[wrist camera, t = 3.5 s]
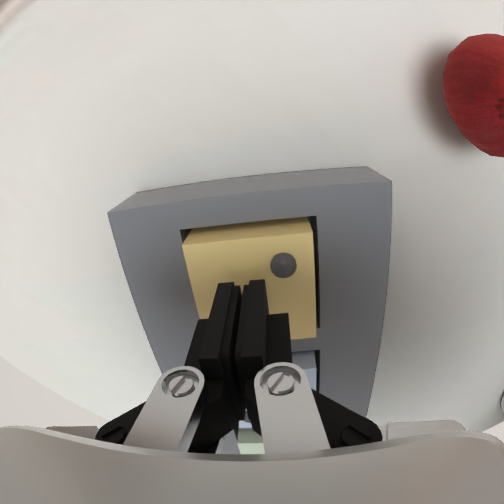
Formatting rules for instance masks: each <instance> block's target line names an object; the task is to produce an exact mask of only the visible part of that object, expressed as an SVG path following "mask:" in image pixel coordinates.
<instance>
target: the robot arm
mask: <svg viewBox="0 0 504 504" xmlns="http://www.w3.org/2000/svg"><path fill="white" fill-rule="evenodd" d="M501 409H502V411H503V413H504V395H503V398H502V401H501ZM246 410H247V414H248V418H249V420H250V421H251V425H252V429H253V430H254V431H255V432H256V433H257V434H259V435H260V436H261V437H262V438H263V445H264V451H265V454H222V451H223V448H224V445H225V435H227V434H228V433H229V432H231V431H232V430H238V429H239V421H244V420H245V412H246ZM0 504H504V444H503V442H502V441H500V440H499V439H498V438H496V437H494V436H492V435H489V434H486V433H481V432H474V431H466V429H465V428H464V427H463V426H462V425H461V424H460V423H458V422H456V421H453V420H440V421H424V422H395V423H388V425H387V426H377V425H376V424H375V423H373V422H372V421H371V420H369V419H367V418H365V417H363V416H361V415H359V414H357V413H355V412H354V411H352V410H350V409H348V408H346V407H344V406H342V405H341V404H339V403H337V402H335V401H333V400H331V399H330V398H328V397H326V396H324V395H322V394H321V393H319V392H317V391H315V390H314V389H312V388H311V387H310V384H309V381H308V378H307V375H306V374H305V372H304V370H303V369H302V368H300V367H299V366H297V365H295V364H292V350H291V338H290V326H289V314H288V313H279V314H269V308H268V300H267V292H266V284H265V279H260V280H250V281H249V284H248V285H244V287H243V295H242V294H241V288H240V285H236V286H235V284H234V282H225V283H218V285H217V289H216V293H215V296H214V300H213V304H212V308H211V311H210V315H209V318H208V319H199V320H198V322H197V325H196V328H195V331H194V334H193V338H192V341H191V344H190V347H189V351H188V354H187V357H186V361H185V364H184V366H180V367H175V368H173V369H170V370H168V371H167V372H165V373H164V374H163V375H162V376H161V377H160V378H159V380H158V381H157V383H156V385H155V387H154V389H153V390H152V392H151V394H150V396H149V398H148V400H147V401H146V402H144V403H142V404H140V405H139V406H137V407H135V408H133V409H132V410H130V411H128V412H126V413H124V414H123V415H121V416H119V417H117V418H115V419H113V420H112V421H110V422H108V423H106V424H105V425H103V426H102V427H101V428H100V429H98V428H97V426H82V427H81V426H79V427H78V426H77V427H54V426H53V427H47V428H46V429H44V428H38V427H31V426H8V427H2V428H0Z"/></svg>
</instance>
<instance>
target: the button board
mask: <svg viewBox="0 0 504 504" xmlns="http://www.w3.org/2000/svg"><path fill="white" fill-rule="evenodd" d="M107 214H108V218H109V222H110V225H111V229H112V233H113V236H114V240H115V243H116V247H117V250H118V254H119V257H120V260H121V263H122V267H123V270H124V273H125V276H126V279H127V282H128V285H129V288H130V291H131V294H132V297H133V300H134V303H135V306H136V309H137V311H138V314H139V317H140V320H141V322H142V325H143V328H144V330H145V333H146V336H147V338H148V341H149V343H150V346H151V348H152V351H153V353H154V356H155V358H156V360H157V363H158V365H159V368H160V370H161V372H162V375H163V374H164V373H165V372H167V371H168V370H170V369H173V368H175V367H180V366H184V364H185V361H186V357H187V354H188V351H189V347H190V344H191V341H192V338H193V334H194V331H195V328H196V325H197V322H198V320H199V319H200V318H199V314H198V310H197V306H196V302H195V299H194V295H193V291H192V286H191V282H190V278H189V274H188V270H187V266H186V261H185V257H184V253H183V248H182V244H183V242H184V241H185V239H186V238H187V236H188V235H189V233H190V231H191V230H192V228H198V227H207V226H216V225H225V224H235V223H244V222H254V221H264V220H274V219H285V218H295V217H306V216H307V217H308V220H309V223H310V226H311V229H312V231H313V245H314V267H315V295H316V337H314V338H304V339H293V340H291V350H292V352H300V351H310V350H314V355H315V362H316V391H317V392H319V393H321V394H322V395H324V396H326V397H328V398H330V399H331V400H333V401H335V402H337V403H339V404H341V405H342V406H344V407H346V408H348V409H350V410H352V411H354V412H355V413H357V414H359V415H361V416H363V417H365V418H366V415H367V411H368V406H369V402H370V397H371V392H372V387H373V382H374V377H375V372H376V366H377V360H378V354H379V348H380V342H381V335H382V328H383V320H384V312H385V304H386V294H387V284H388V272H389V259H390V242H391V216H392V181H391V180H389V179H387V178H386V177H384V176H382V175H381V174H379V173H377V172H376V171H374V170H372V169H370V168H369V167H349V168H333V169H319V170H306V171H295V172H284V173H273V174H264V175H255V176H246V177H237V178H229V179H221V180H214V181H207V182H199V183H192V184H186V185H179V186H173V187H167V188H160V189H154V190H149V191H143V192H137V193H135V194H134V195H132V196H131V197H129V198H128V199H126V200H125V201H123V202H122V203H121V204H119V205H118V206H116V207H115V208H113V209H112V210H110V211H109V212H108V213H107ZM239 429H252V428H239ZM239 429H238V430H232V431H231V432H229V433H228V434H227V435H225V445H224V448H223V451H222V454H241V453H240V450H239V447H238V444H237V440H238V431H239Z"/></svg>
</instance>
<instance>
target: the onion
mask: <svg viewBox="0 0 504 504" xmlns="http://www.w3.org/2000/svg"><path fill="white" fill-rule="evenodd" d="M443 96H444V99H445V103H446V106H447V109H448V112H449V114H450V116H451V117H452V119H453V120H454V122H455V124H456V125H457V127H458V128H459V130H460V131H461V133H462V134H463V136H464V137H465V138H466V139H468V140H469V141H470V142H471V143H472V144H474V145H475V146H476V147H477V148H478V149H480V150H481V151H483V152H485V153H487V154H489V155H491V156H498V157H504V36H501V35H498V34H482V35H476V36H470V37H468V38H466V39H465V40H464V41H462V42H461V43H460V44H459V45H458V46H457V47H456V48H455V49H454V50H453V51H452V52H451V53H450V54H449V56H448V60H447V63H446V67H445V70H444V73H443Z"/></svg>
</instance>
